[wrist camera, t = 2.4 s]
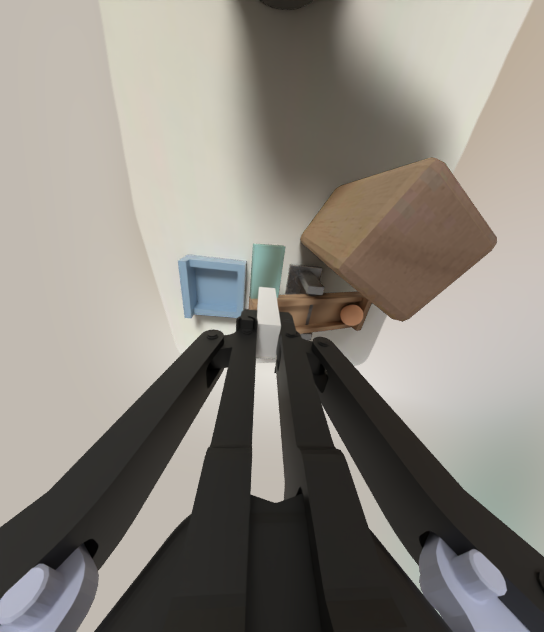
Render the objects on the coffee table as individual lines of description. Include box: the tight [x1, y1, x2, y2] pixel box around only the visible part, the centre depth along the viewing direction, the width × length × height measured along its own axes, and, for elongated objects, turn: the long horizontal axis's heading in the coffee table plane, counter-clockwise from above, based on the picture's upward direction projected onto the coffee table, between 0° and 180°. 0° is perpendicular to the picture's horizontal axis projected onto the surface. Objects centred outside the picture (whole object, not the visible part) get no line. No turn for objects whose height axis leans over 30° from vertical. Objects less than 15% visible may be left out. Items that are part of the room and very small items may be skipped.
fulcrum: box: [285, 264, 324, 340], centre depth 34 cm, size 6×11×9 cm, turn 173°
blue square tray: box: [178, 255, 247, 318], centre depth 35 cm, size 10×10×4 cm
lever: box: [249, 244, 372, 334], centre depth 29 cm, size 20×13×4 cm, turn 84°
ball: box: [340, 304, 363, 326], centre depth 32 cm, size 4×4×4 cm
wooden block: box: [300, 157, 497, 322], centre depth 24 cm, size 10×10×20 cm
